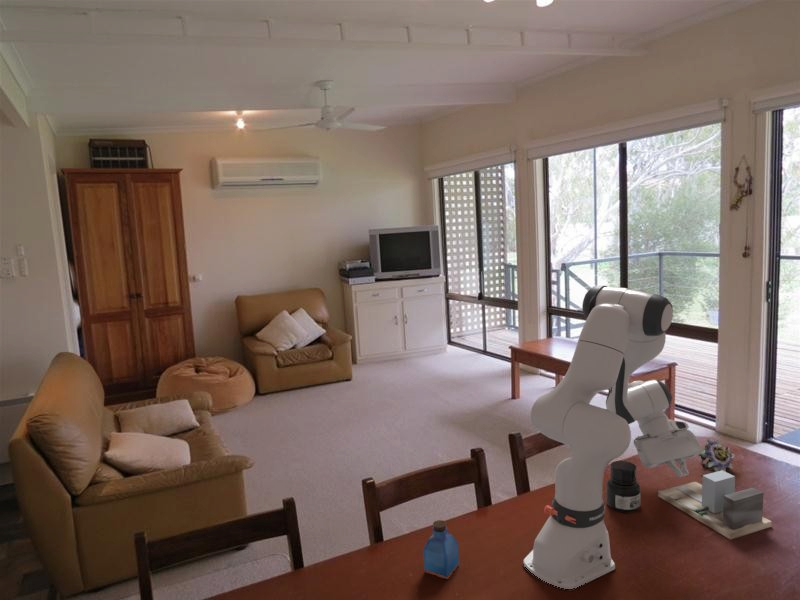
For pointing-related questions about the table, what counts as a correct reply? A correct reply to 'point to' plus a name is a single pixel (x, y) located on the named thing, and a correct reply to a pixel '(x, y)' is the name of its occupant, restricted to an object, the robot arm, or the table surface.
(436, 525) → the perfume bottle
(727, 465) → the passion flower
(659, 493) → the bench
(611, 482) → the ink bottle
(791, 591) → the table surface
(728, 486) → the gauge slider
